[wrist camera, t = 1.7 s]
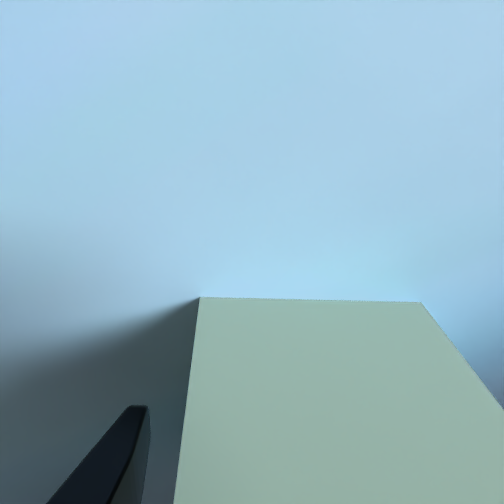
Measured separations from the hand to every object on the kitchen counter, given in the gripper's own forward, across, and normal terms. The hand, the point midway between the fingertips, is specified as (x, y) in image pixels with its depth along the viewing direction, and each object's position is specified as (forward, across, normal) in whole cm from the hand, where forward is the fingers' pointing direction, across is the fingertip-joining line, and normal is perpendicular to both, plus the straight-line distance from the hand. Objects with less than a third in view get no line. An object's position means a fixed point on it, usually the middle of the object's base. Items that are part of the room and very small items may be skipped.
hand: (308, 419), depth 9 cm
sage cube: (+1, 0, 0) cm, 1 cm away
